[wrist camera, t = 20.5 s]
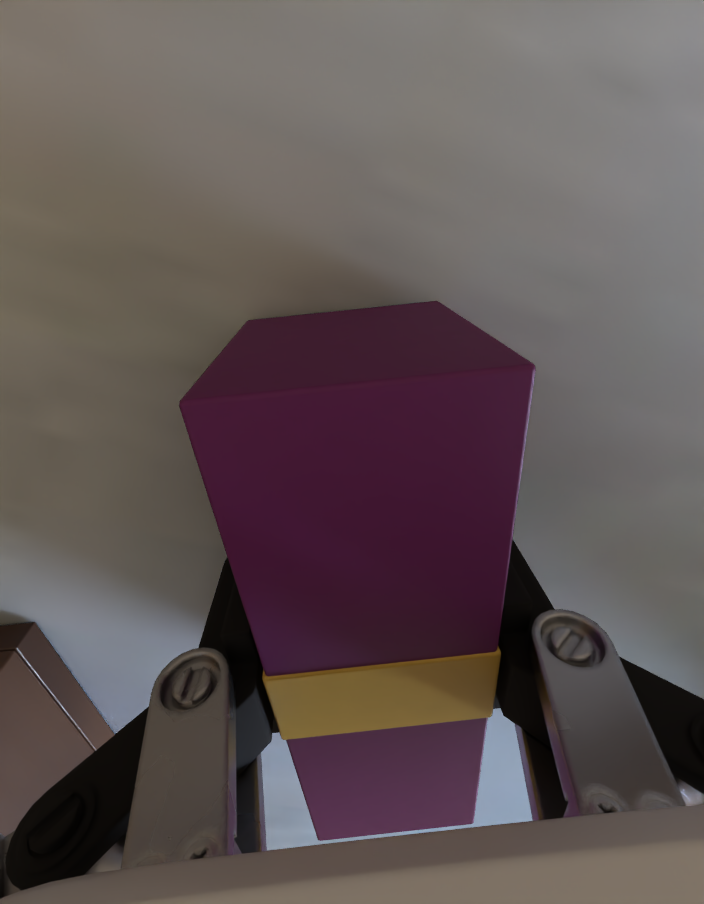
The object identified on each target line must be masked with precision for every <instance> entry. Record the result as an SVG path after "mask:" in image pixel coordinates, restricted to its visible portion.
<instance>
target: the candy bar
mask: <svg viewBox="0 0 704 904" xmlns="http://www.w3.org/2000/svg"><path fill="white" fill-rule="evenodd" d="M535 371H536V369H535V365H534V364H533V363H531V362H530V361H528V360H527V359H525V358H524V357H522V356H521V355H519V354H518V353H516V352H515V351H513V350H511V349H510V348H508V347H507V346H505V345H504V344H502V343H501V342H499V341H498V340H496V339H495V338H493V337H492V336H490V335H489V334H487V333H486V332H484V331H483V330H481V329H479V328H478V327H476V326H475V325H473V324H472V323H470V322H469V321H467V320H466V319H464V318H463V317H461V316H460V315H458V314H457V313H455V312H454V311H452V310H451V309H449V308H448V307H446V306H444V305H443V304H441V303H440V302H438V301H431V302H421V303H412V304H402V305H392V306H383V307H373V308H363V309H353V310H344V311H334V312H324V313H314V314H305V315H295V316H285V317H276V318H266V319H256V320H248V321H247V322H246V323H245V324H244V325H243V327H242V328H241V329H240V330H239V331H238V333H237V334H236V335H235V336H234V337H233V338H232V340H231V341H230V342H229V343H228V344H227V346H226V347H225V348H224V349H223V350H222V352H221V353H220V354H219V355H218V356H217V358H216V359H215V360H214V361H213V362H212V363H211V365H210V366H209V367H208V368H207V369H206V371H205V372H204V373H203V374H202V375H201V377H200V378H199V379H198V380H197V381H196V382H195V384H194V385H193V386H192V387H191V388H190V390H189V391H188V392H187V393H186V394H185V396H184V397H183V398H182V399H181V400H180V403H179V407H180V410H181V413H182V416H183V419H184V423H185V426H186V429H187V432H188V435H189V438H190V441H191V444H192V448H193V451H194V454H195V457H196V460H197V463H198V466H199V469H200V472H201V476H202V479H203V482H204V485H205V488H206V491H207V494H208V497H209V501H210V504H211V507H212V510H213V513H214V516H215V519H216V522H217V526H218V529H219V532H220V535H221V538H222V541H223V544H224V547H225V551H226V554H227V557H228V560H229V563H230V566H231V569H232V572H233V575H234V579H235V582H236V585H237V588H238V591H239V594H240V597H241V600H242V604H243V607H244V610H245V613H246V616H247V619H248V622H249V625H250V629H251V632H252V635H253V638H254V641H255V644H256V647H257V650H258V653H259V657H260V660H261V663H262V666H263V676H262V680H263V683H264V686H265V689H266V692H267V695H268V698H269V701H270V704H271V707H272V710H273V713H274V716H275V719H276V722H277V725H278V728H279V731H280V735H281V738H282V739H283V740H286V741H287V744H288V747H289V750H290V753H291V756H292V760H293V763H294V766H295V769H296V772H297V775H298V778H299V781H300V785H301V788H302V791H303V794H304V797H305V800H306V803H307V806H308V810H309V813H310V816H311V819H312V822H313V825H314V828H315V831H316V835H317V838H318V840H320V841H322V840H331V839H340V838H348V837H357V836H366V835H375V834H384V833H393V832H402V831H411V830H420V829H429V828H438V827H447V826H456V825H465V824H472V823H474V816H475V808H476V801H477V794H478V786H479V779H480V772H481V765H482V757H483V750H484V743H485V735H486V728H487V721H488V717H491V716H492V713H493V706H494V699H495V692H496V686H497V679H498V672H499V665H500V658H501V651H500V649H499V646H498V641H499V633H500V626H501V619H502V611H503V604H504V597H505V590H506V582H507V575H508V568H509V560H510V553H511V546H512V539H513V531H514V524H515V517H516V509H517V502H518V495H519V488H520V480H521V473H522V466H523V458H524V451H525V444H526V437H527V429H528V422H529V415H530V407H531V400H532V393H533V386H534V378H535Z"/></svg>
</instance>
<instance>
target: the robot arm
mask: <svg viewBox="0 0 704 904" xmlns="http://www.w3.org/2000/svg"><path fill="white" fill-rule="evenodd" d="M498 646H499V649H500V651H501V658H500V665H499V672H498V679H497V686H496V692H495V699H494V706H493V709H495V708H501V710H502V713H503V715H504V716H505V717H506V718H508V719H509V720H511V721H512V722H514V723H515V728H516V733H517V739H518V744H519V749H520V755H521V760H522V765H523V771H524V776H525V781H526V787H527V792H528V797H529V803H530V808H531V813H532V819H533V821H529V822H519V823H510V824H500V825H491V826H482V827H473V828H464V829H455V830H446V831H437V832H428V833H419V834H410V835H401V836H392V837H383V838H374V839H365V840H356V841H347V842H338V843H329V844H321V845H312V846H304V847H295V848H287V849H278V850H269V851H267V848H266V831H265V814H264V796H263V779H262V762H261V752H262V751H263V750H264V748H265V747H266V746H267V745H268V744H269V743H270V742H271V739H272V733H277V732H280V731H279V728H278V725H277V722H276V719H275V716H274V713H273V710H272V707H271V704H270V701H269V698H268V695H267V692H266V689H265V686H264V683H263V680H262V676H263V666H262V663H261V660H260V657H259V653H258V650H257V647H256V644H255V641H254V638H253V635H252V632H251V629H250V625H249V622H248V619H247V616H246V613H245V610H244V607H243V604H242V600H241V597H240V594H239V591H238V588H237V585H236V582H235V579H234V575H233V572H232V569H231V566H230V563H229V560H228V558H227V559H226V560H225V563H224V565H223V568H222V572H221V575H220V578H219V582H218V585H217V588H216V592H215V595H214V598H213V602H212V605H211V608H210V612H209V615H208V618H207V621H206V625H205V628H204V631H203V635H202V638H201V641H200V645H199V648H196V649H192V650H190V651H187V652H185V653H182V654H181V655H179V656H178V657H176V658H175V659H173V660H172V661H171V662H170V663H169V664H168V665H167V666H166V667H165V668H164V669H163V670H162V671H161V673H160V674H159V676H158V678H157V679H156V681H155V683H154V686H153V689H152V692H151V697H150V703H149V707H148V708H147V709H145V710H144V711H143V712H142V713H140V714H139V715H138V716H137V717H136V718H134V719H133V720H132V721H131V722H130V723H128V724H127V725H126V726H125V727H124V728H122V729H121V730H120V731H119V732H118V733H116V734H115V735H114V736H113V737H112V738H110V739H109V740H108V741H107V742H105V743H104V744H103V745H102V746H101V747H99V748H98V749H97V750H96V751H95V752H93V753H92V754H91V755H90V756H89V757H87V758H86V759H85V760H84V761H83V762H81V763H80V764H79V765H78V766H76V767H75V768H74V769H73V770H72V771H70V772H69V773H68V774H67V775H66V776H64V777H63V778H62V779H61V780H60V781H58V782H57V783H56V784H55V785H54V786H52V787H51V788H50V789H49V790H48V791H46V792H45V793H44V794H43V795H42V796H41V797H40V798H39V799H38V800H37V801H36V802H35V803H34V804H33V805H32V806H31V808H30V809H29V810H28V812H27V813H26V814H25V816H24V817H23V818H22V820H21V821H20V822H19V824H18V826H17V828H16V830H15V831H13V832H12V833H10V834H9V835H7V836H6V837H5V836H4V835H2V834H1V833H0V904H704V699H702V698H700V697H698V696H696V695H694V694H692V693H690V692H688V691H686V690H684V689H682V688H680V687H678V686H676V685H674V684H672V683H670V682H668V681H666V680H664V679H662V678H660V677H658V676H656V675H654V674H652V673H650V672H648V671H646V670H644V669H642V668H641V667H639V666H637V665H635V664H633V663H631V662H629V661H627V660H625V659H623V658H621V657H619V656H618V654H617V651H616V649H615V647H614V645H613V643H612V641H611V639H610V638H609V636H608V635H607V633H606V632H605V631H604V630H603V629H602V628H601V627H600V626H599V625H598V624H597V623H595V622H594V621H592V620H591V619H589V618H588V617H586V616H584V615H581V614H579V613H576V612H574V611H569V610H563V609H557V610H555V609H554V608H553V606H552V604H551V603H550V601H549V599H548V598H547V596H546V594H545V592H544V591H543V589H542V587H541V586H540V584H539V582H538V581H537V579H536V577H535V576H534V574H533V572H532V571H531V569H530V567H529V566H528V564H527V562H526V561H525V559H524V557H523V556H522V554H521V552H520V551H519V549H518V547H517V546H516V544H515V542H514V541H513V539H512V546H511V553H510V560H509V568H508V575H507V582H506V590H505V597H504V604H503V611H502V619H501V626H500V633H499V641H498Z"/></svg>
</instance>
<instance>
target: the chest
mask: <svg viewBox="0 0 704 904" xmlns="http://www.w3.org/2000/svg"><path fill="white" fill-rule="evenodd" d="M114 735H115V734H114V733H113V732H112V730H111V729H110V727H109V726H108V725H107V723H106V722H105V720H104V719H103V718H102V716H101V715H100V713H99V712H98V710H97V709H96V708H95V706H94V705H93V703H92V702H91V701H90V699H89V698H88V696H87V695H86V694H85V692H84V691H83V689H82V688H81V687H80V685H79V684H78V682H77V681H76V679H75V678H74V677H73V675H72V674H71V672H70V671H69V670H68V668H67V667H66V665H65V664H64V663H63V661H62V660H61V658H60V657H59V655H58V654H57V653H56V651H55V650H54V648H53V647H52V646H51V644H50V643H49V641H48V640H47V639H46V637H45V636H44V634H43V633H42V632H41V630H40V629H39V627H38V626H37V624H36V623H35V622H31V623H21V624H12V625H3V626H0V833H1V834H2V835H4V836H5V837H6V836H7V835H9V834H10V833H12V832H13V831H15V830H16V828H17V826H18V824H19V822H20V821H21V820H22V818H23V817H24V816H25V814H26V813H27V812H28V810H29V809H30V808H31V806H32V805H33V804H34V803H35V802H36V801H37V800H38V799H39V798H40V797H41V796H42V795H43V794H44V793H45V792H46V791H48V790H49V789H50V788H51V787H52V786H54V785H55V784H56V783H57V782H58V781H60V780H61V779H62V778H63V777H64V776H66V775H67V774H68V773H69V772H70V771H72V770H73V769H74V768H75V767H76V766H78V765H79V764H80V763H81V762H83V761H84V760H85V759H86V758H87V757H89V756H90V755H91V754H92V753H93V752H95V751H96V750H97V749H98V748H99V747H101V746H102V745H103V744H104V743H105V742H107V741H108V740H109V739H110V738H112V737H113V736H114Z"/></svg>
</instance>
